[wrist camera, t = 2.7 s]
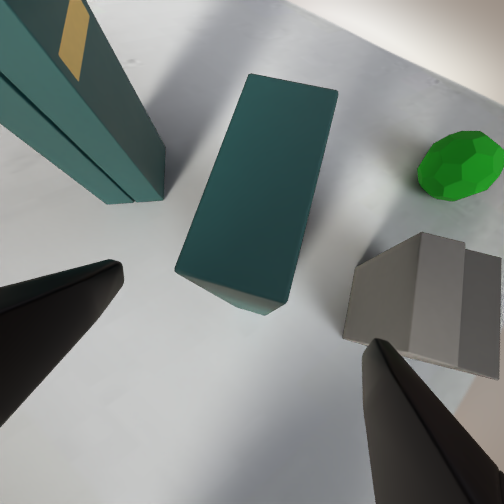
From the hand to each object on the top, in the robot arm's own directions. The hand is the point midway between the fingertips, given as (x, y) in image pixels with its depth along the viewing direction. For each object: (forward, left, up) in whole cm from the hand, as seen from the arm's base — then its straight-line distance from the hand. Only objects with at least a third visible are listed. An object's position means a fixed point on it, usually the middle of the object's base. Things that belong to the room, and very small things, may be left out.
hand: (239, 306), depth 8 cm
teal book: (+3, +1, -10) cm, 11 cm away
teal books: (+4, +15, -10) cm, 19 cm away
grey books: (+6, -8, -10) cm, 14 cm away
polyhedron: (+18, -7, -10) cm, 22 cm away
